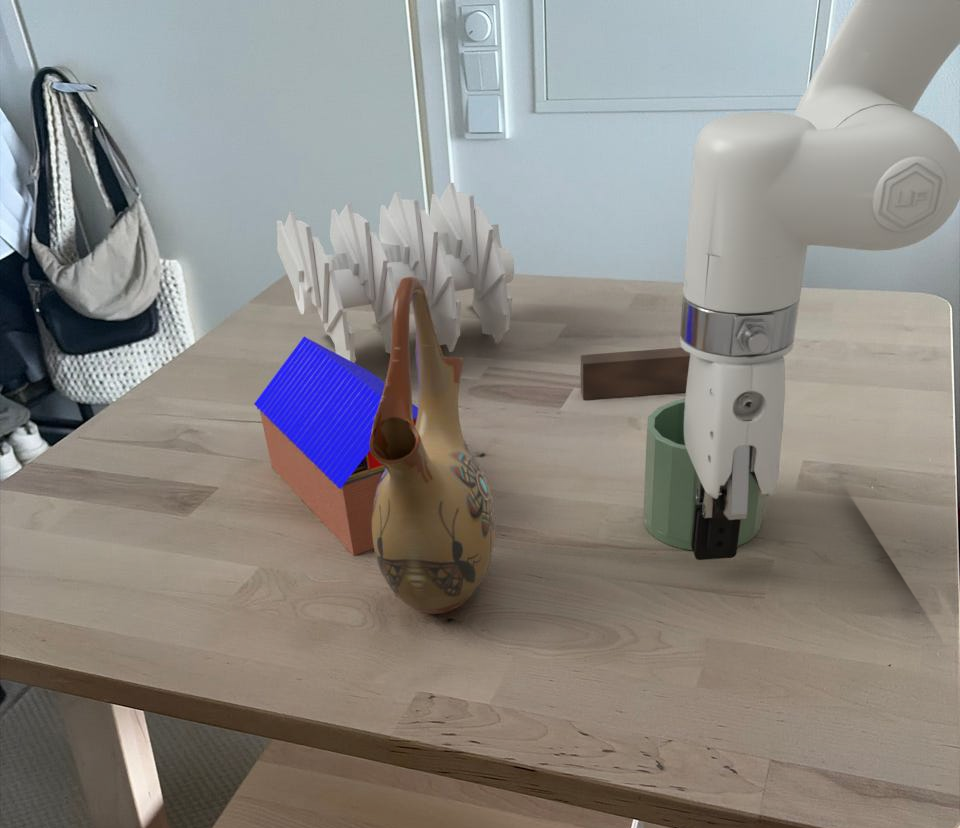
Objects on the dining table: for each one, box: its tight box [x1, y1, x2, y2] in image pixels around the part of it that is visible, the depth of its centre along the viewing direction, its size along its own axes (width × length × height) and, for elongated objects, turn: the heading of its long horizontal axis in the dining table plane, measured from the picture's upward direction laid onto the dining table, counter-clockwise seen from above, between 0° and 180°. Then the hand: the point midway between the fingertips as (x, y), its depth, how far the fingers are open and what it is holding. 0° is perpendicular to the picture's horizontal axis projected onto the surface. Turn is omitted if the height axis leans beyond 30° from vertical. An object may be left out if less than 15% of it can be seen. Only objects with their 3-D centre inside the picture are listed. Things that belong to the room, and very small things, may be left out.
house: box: [253, 336, 469, 556], centre depth 92 cm, size 12×20×12 cm, turn 30°
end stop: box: [580, 346, 690, 401], centre depth 107 cm, size 14×2×4 cm, turn 92°
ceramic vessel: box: [369, 277, 496, 615], centre depth 74 cm, size 16×9×25 cm, turn 169°
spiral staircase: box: [276, 182, 515, 364], centre depth 115 cm, size 18×18×25 cm
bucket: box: [643, 398, 766, 551], centre depth 85 cm, size 10×10×9 cm
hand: (713, 552), depth 80 cm, fingers closed
